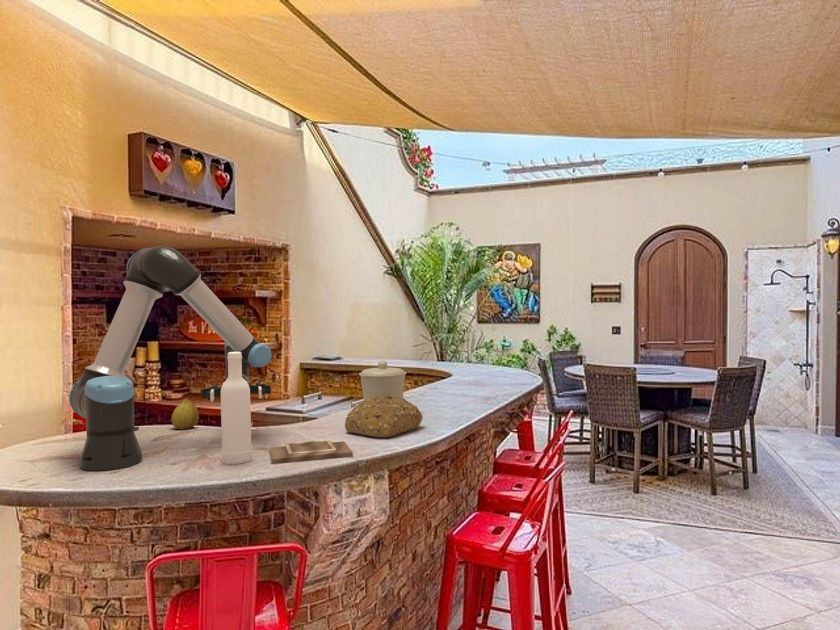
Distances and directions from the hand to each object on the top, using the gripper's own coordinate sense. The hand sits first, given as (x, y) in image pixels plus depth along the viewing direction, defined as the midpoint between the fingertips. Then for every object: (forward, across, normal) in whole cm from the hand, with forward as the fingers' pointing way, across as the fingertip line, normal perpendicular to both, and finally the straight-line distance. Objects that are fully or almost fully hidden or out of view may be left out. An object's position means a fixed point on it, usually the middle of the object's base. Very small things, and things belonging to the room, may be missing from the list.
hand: (236, 395), depth 171 cm
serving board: (+10, -20, -17) cm, 28 cm away
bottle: (+10, 0, -17) cm, 20 cm away
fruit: (-43, +18, -17) cm, 50 cm away
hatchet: (-38, +38, -17) cm, 56 cm away
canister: (-39, -53, -17) cm, 68 cm away
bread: (-13, -47, -17) cm, 51 cm away
